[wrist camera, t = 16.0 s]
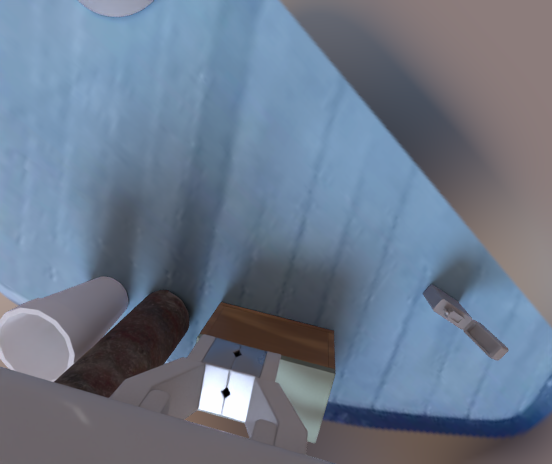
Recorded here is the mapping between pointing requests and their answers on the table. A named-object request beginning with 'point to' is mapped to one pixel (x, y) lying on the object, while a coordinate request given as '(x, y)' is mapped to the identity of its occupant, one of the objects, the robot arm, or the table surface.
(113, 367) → the dark brown rough cylinder
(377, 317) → the table surface
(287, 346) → the box
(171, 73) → the table surface
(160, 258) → the table surface
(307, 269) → the table surface
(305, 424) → the pale green flat panel
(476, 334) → the lighter
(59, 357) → the foam cup
